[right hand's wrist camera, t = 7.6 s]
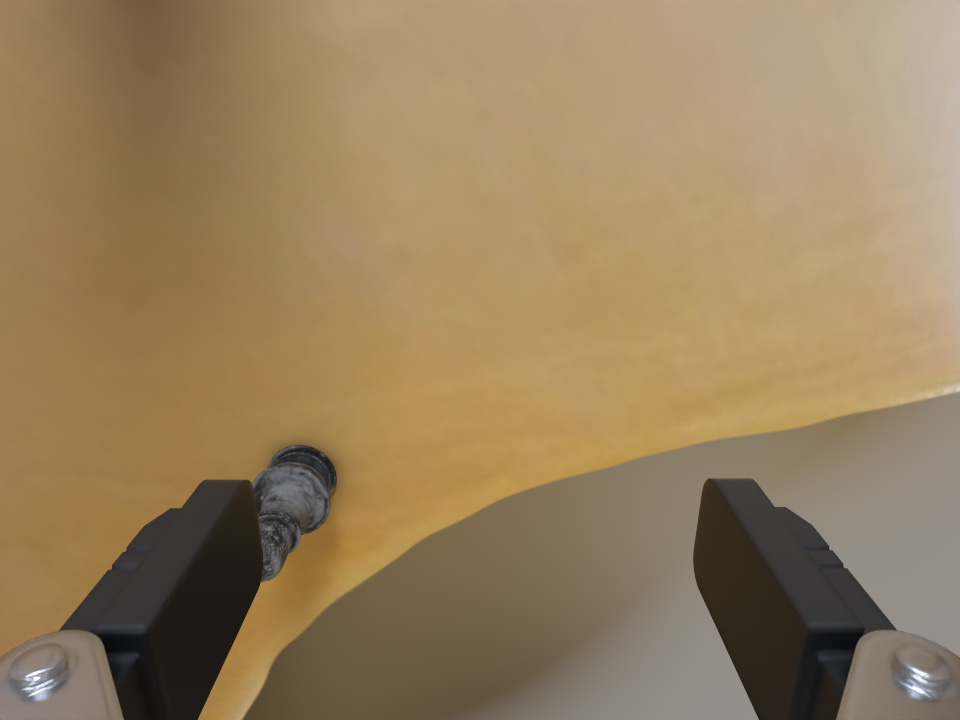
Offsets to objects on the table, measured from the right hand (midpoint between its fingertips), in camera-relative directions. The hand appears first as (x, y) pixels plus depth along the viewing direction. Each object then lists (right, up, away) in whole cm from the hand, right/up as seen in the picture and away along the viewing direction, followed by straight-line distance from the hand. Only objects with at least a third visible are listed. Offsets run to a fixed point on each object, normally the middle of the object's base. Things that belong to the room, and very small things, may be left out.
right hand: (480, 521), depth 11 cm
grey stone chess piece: (-14, -6, +38) cm, 41 cm away
